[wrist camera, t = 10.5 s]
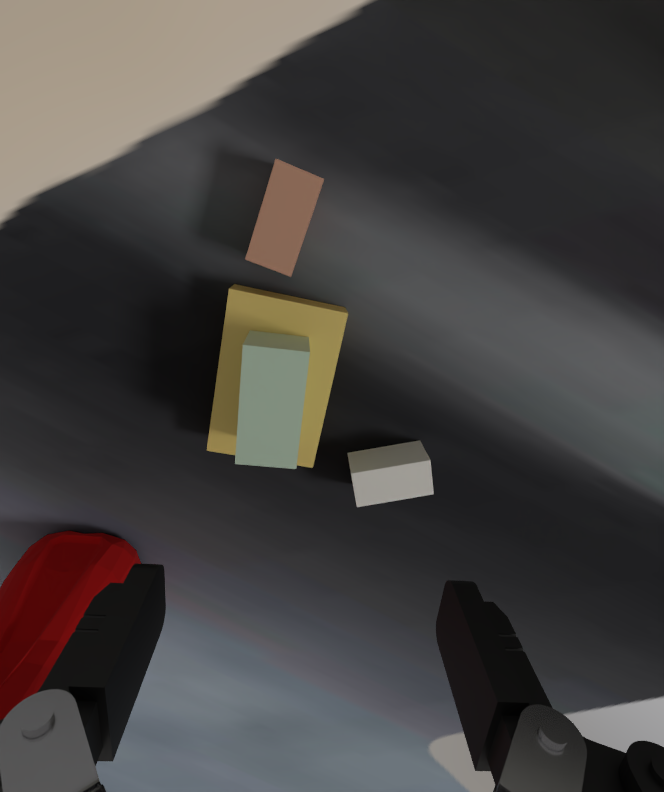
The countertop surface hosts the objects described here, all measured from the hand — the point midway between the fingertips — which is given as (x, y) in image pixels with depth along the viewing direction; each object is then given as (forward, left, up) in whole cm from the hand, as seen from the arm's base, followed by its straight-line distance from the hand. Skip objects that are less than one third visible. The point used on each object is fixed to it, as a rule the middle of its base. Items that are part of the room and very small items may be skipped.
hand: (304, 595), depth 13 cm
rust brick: (+2, -10, -23) cm, 25 cm away
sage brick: (+2, +1, -20) cm, 20 cm away
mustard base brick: (+2, +1, -23) cm, 23 cm away
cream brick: (-7, +8, -23) cm, 25 cm away
